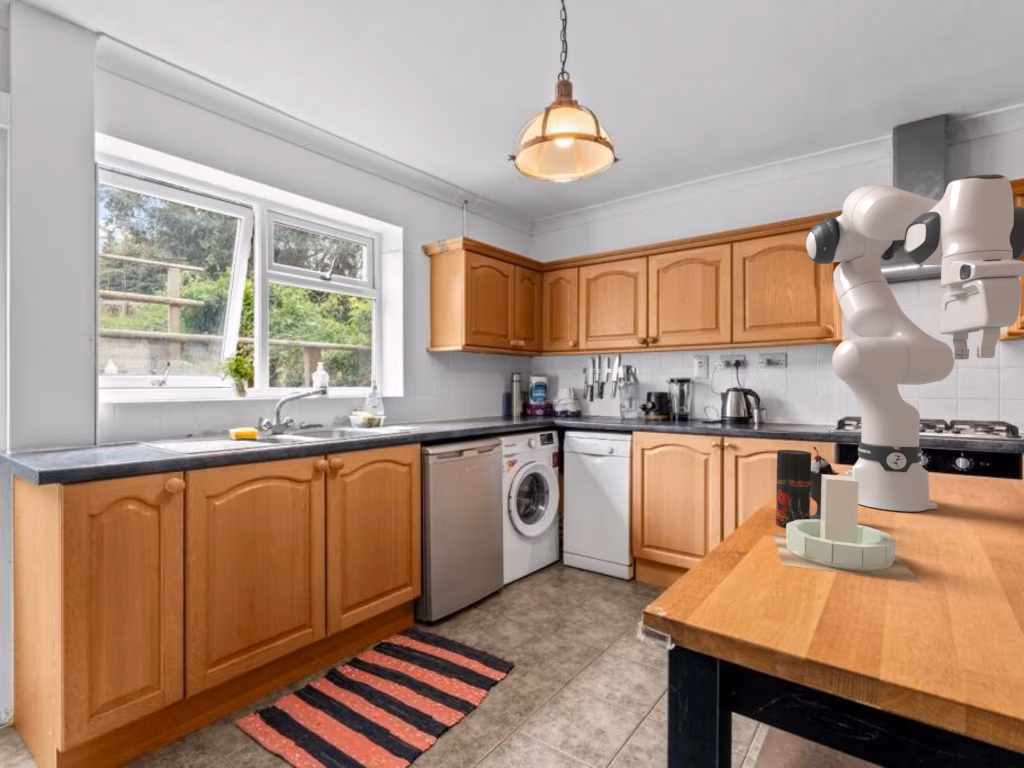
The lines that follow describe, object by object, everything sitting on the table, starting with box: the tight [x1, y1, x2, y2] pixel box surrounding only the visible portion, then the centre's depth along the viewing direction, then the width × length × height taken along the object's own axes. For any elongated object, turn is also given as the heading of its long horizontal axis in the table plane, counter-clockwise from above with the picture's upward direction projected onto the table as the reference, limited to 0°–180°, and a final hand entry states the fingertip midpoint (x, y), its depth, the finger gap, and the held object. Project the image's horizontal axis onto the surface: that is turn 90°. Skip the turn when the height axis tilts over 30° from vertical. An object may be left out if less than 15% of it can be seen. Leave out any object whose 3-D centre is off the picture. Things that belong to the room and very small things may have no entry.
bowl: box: [785, 519, 896, 571], centre depth 89 cm, size 15×15×4 cm
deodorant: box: [775, 449, 812, 530], centre depth 106 cm, size 6×6×15 cm
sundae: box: [810, 446, 840, 520], centre depth 112 cm, size 7×7×15 cm
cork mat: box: [772, 532, 922, 584], centre depth 89 cm, size 18×18×1 cm
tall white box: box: [820, 474, 859, 544], centre depth 89 cm, size 4×4×12 cm
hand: (972, 358), depth 88 cm, fingers open, 8 cm apart
